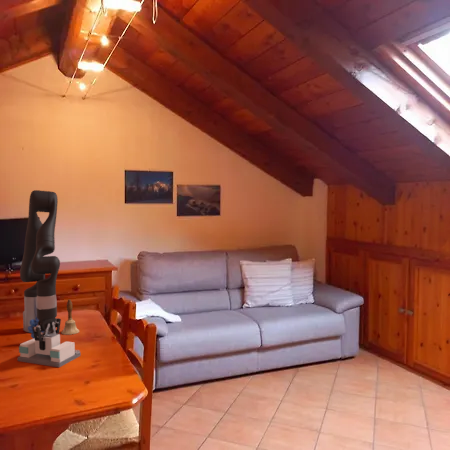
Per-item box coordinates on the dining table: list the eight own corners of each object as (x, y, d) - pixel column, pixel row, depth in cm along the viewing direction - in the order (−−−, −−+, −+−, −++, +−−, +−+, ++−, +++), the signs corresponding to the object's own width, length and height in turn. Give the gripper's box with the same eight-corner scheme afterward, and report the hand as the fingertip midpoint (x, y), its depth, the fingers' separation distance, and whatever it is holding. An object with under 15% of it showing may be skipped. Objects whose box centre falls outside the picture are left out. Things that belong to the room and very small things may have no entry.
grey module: (35, 353, 176) (34, 335, 176) (44, 348, 181) (43, 331, 180) (51, 355, 174) (51, 337, 173) (60, 351, 178) (59, 333, 178)
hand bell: (75, 335, 208) (75, 301, 207) (58, 334, 208) (57, 301, 207) (81, 329, 216) (81, 297, 215) (65, 329, 216) (64, 297, 215)
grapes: (26, 346, 192) (25, 319, 191) (28, 341, 198) (28, 315, 197) (55, 344, 195) (54, 317, 194) (56, 339, 201) (55, 313, 201)
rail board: (17, 360, 175) (17, 344, 175) (40, 350, 188) (40, 335, 187) (59, 367, 169) (58, 350, 168) (80, 355, 181) (80, 340, 181)
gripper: (51, 301, 184) (52, 340, 185) (25, 309, 170) (26, 352, 171) (66, 302, 181) (67, 343, 183) (41, 311, 168) (42, 354, 169)
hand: (47, 347), depth 177 cm, fingers closed on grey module, 5 cm apart
